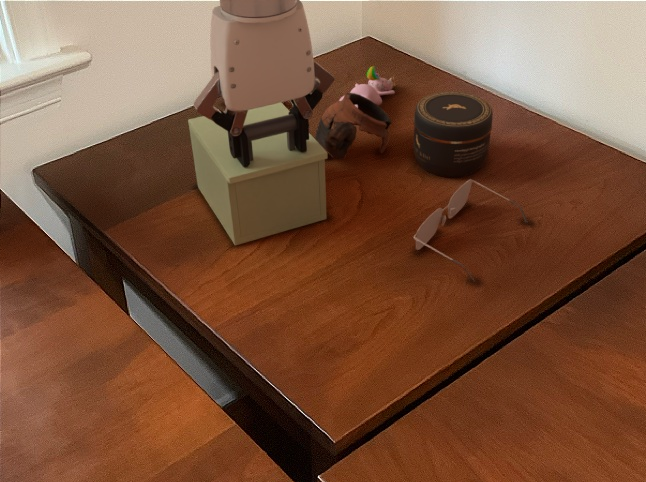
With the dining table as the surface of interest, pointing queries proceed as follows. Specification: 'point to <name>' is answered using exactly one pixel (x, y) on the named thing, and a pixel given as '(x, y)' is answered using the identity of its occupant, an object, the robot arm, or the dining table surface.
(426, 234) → the eyeglasses
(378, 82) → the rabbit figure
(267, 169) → the lid
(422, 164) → the jar
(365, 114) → the brown crumpled piece
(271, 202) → the chest
